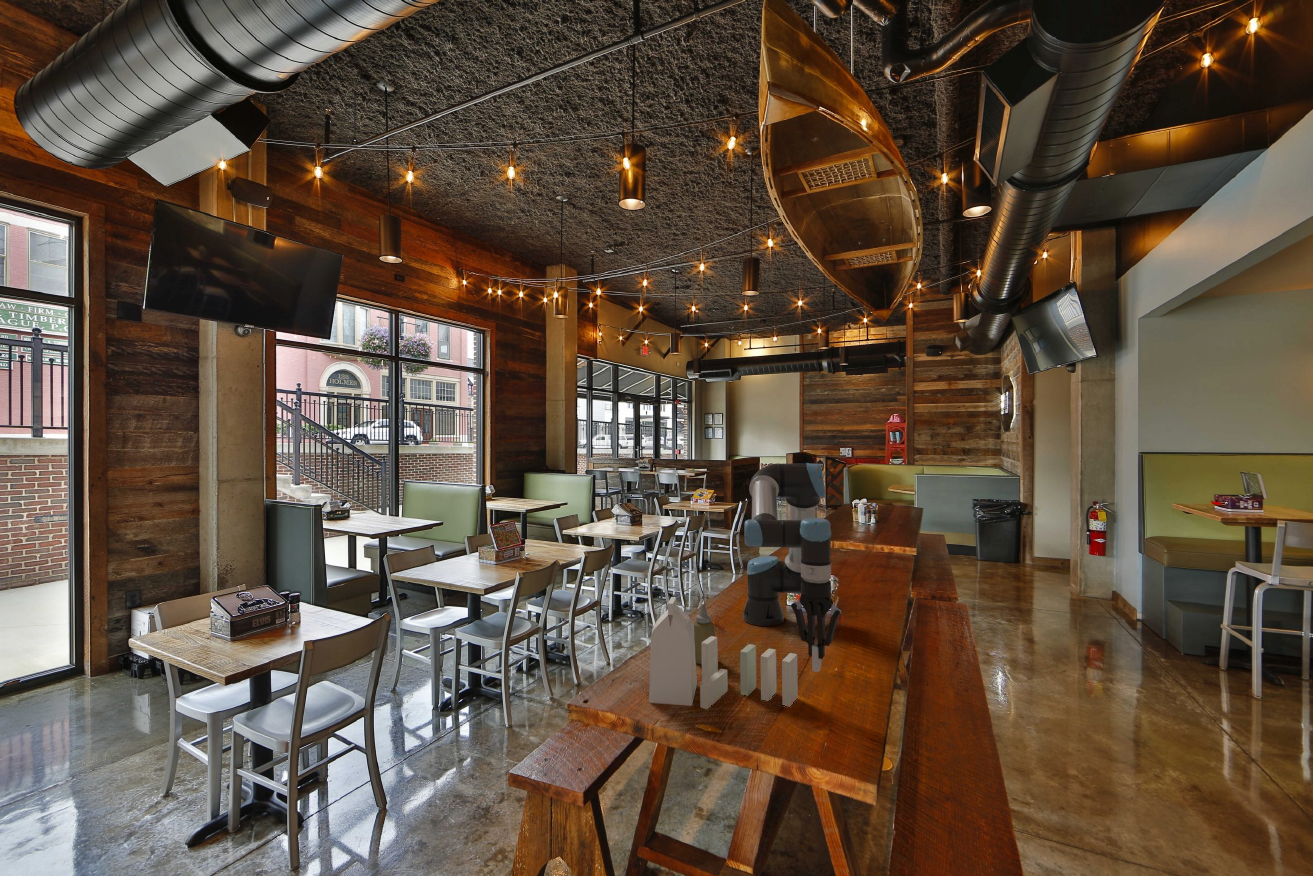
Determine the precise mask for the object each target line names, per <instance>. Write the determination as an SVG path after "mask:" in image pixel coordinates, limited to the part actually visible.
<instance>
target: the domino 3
mask: <svg viewBox="0 0 1313 876" xmlns="http://www.w3.org/2000/svg"><path fill="white" fill-rule="evenodd" d="M739 655H740V656H739V659H740V660H739V663H740V664H739V665H740V666H739V667H740V668H739V669H740V671H739V672H740V675H739V676H740V677H739V678H740V695H741V696H744V695H746V696H745V697H749V695H750V694H751V693H753V692H754V691H755V690H756V689H757V645H755V644H752V643H751V644H750V643H748V644H746V646H745V647H743V648H742V649H740V651H739Z"/></svg>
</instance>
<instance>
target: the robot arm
mask: <svg viewBox="0 0 1313 876" xmlns="http://www.w3.org/2000/svg"><path fill="white" fill-rule="evenodd" d="M822 468H823V467H822V465H820V464H818V463H809V462H805V463H778V462H777V463H770V464H768V465H766V466H763V467H762V468H760V469H759V470H758V471H756V473H754V475H753V476H752V477H751V479H750V482H749V486H748V487H749V489H748V491H749V494H750V496H751V519H747V520H745V521H744V531H743V532H744V533H743V534H744V544H745V546H747V547H755V548H789V549H788V554H787V555H786V556H785V558H784V560H781V561H780V559H779V558H778V557H779V556H775V555H774V556H773V555H764V556H758V557H755V558H751V559H750V560H748V562H747V565H746V566H747V570H746V575H747V580H746V581H747V583H746V584H747V587H746V588H747V589H746V590H747V598H746V603H745V605H744V608H743V612H742V619H743V621H744V622H746V623H747V624H750V625H753V626H759V627H760V626H761V627H773V626H778V625H780V624H782V623H784V622H785V621H784V620H785V618H784V617H785V615H784V611H783V608H782V606H781V605H782V604H781V602H780V597H779V596H780V595H779V594H798V595H800V597H799V599H798V600H795V601H794V602H792V603H791V604H790V607H791V609H792V611H793V612H794V615H795V619H796V624H797V627H798V632H799V636H800V640H801V641H802V642H805V643H807V645H808V654H807V655H808V657H811V672H815V673H819V672H820V671H821V669H822V660H823V659H824V658H825V656H826V653H825V652H826V651H825V649H826V648H825V647H828V646H830V645H831V644H832V643H833V639H834V635H835V630H836V628H837V624H838V620H839V619H838V618H839V616H840V615H841V614H842V613H843V608H841V607H839V608H838V607H837V605H835V604H834V601H833V599H832V581H831V579H832V563H831V557H832V556H831V555H832V554H831V551H832V550H831V545H832V544H831V540H832V538H831V537H832V530H831V522H830V521H829V520H828V519H827V518H826V519H825V518H821V517H816V508H817V506H819V505H820V504H821V499H824V498H825V497H826V488H825V481H824V475H823V469H822ZM777 498H783V499H784V498H785V502H786V503H787V504H788V506H789V519H779V517H778V506H777V505H778V503H777V502H778V501H777ZM802 608H803V609H804V610H805V612H806V619H807V625H806V620H805V616H804V612H803V609H802ZM829 611H830V614H831V615H832V616H831V617H830V620H829V624H828V627H827V633H826V614H827V613H828V612H829ZM816 621H817V625H816ZM816 626H817V639H816ZM816 640H817V642H816Z"/></svg>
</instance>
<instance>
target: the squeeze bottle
mask: <svg viewBox="0 0 1313 876" xmlns="http://www.w3.org/2000/svg"><path fill="white" fill-rule="evenodd" d="M693 624H694V641H695V662H696V664H698V665H701V666H702V647H701V643H702V642H703V641H705V640H706V639H708V638H709V637H711V636H714V637H716V633H715V625H714V622H712V618H711V614H709V613H708V612H707V608H706V604H705V603H702V604H700V609H699V614H696V615H695V622H694V621H693Z"/></svg>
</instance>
